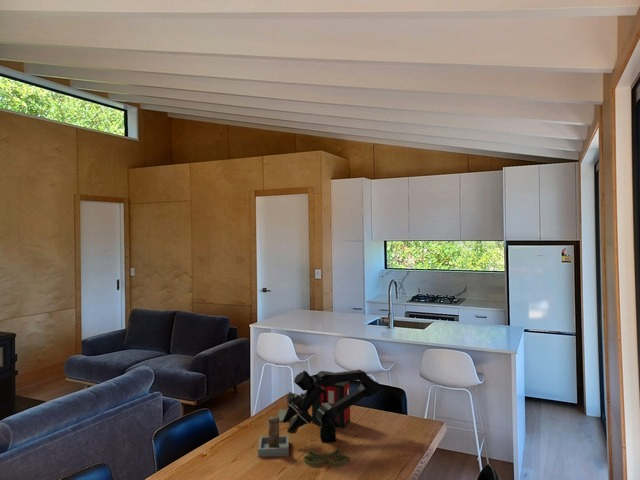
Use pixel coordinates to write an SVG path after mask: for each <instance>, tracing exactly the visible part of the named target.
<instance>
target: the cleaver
mask: <svg viewBox="0 0 640 480" xmlns="http://www.w3.org/2000/svg"><path fill="white" fill-rule="evenodd" d="M287 410H288V408H287V409H280V410H279V412H278V414H277V415H276V416H278V417H279V423H284V422H283V419H284V417H285V415H286V412H287ZM295 419H296V415H295V416H293V417H292V418H291V419H290V420H288V421H287V422H286V423H288V428H287V430H286V431H287V433H294V432H295V431H296V429H294V430H292V431H290V430H289V428H290V427H291V425H292V424H293V422H294V420H295Z"/></svg>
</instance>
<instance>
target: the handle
mask: <svg viewBox="0 0 640 480" xmlns="http://www.w3.org/2000/svg"><path fill="white" fill-rule="evenodd" d="M268 436H269V448H279V436H280V422H279V417H278V416H277V415H272V416H269V417H268Z"/></svg>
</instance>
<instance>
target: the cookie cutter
mask: <svg viewBox="0 0 640 480" xmlns="http://www.w3.org/2000/svg"><path fill="white" fill-rule="evenodd" d="M341 451H342V450H341V448H340V447H337V448H336V449H335V450H334V451H332V452H330V453H326V454H325V453H324V454H323V453H321V454H320V453H317V452H314V451H312V450H307V455H305V456H303V461H304V463H305V464H306V465H308V466H311V467H319V466H323V465H324V464H326V463H328V465H329V466H332V467H333V468H334V467H341V466H344V465H346V463H348V462H351V459H350V456H348V455H346V454H341ZM333 457H334V460H330V458H333ZM320 459H322V460H320Z"/></svg>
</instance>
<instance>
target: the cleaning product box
mask: <svg viewBox="0 0 640 480" xmlns="http://www.w3.org/2000/svg"><path fill="white" fill-rule="evenodd" d="M313 384H315V385H316V383H315V382H314V383H313ZM319 386H320V387H321V388H325V389H326V395H324V394H322V393H321V394H320V396H319V397H318V398H317V399H316V401H315V400H314V401H315V402H314V404H315V405H314V406H313V405H312V406H311V416H312V421H311V424H314V425H320V426H321V423H320V421H319V420H318V419H317V418H316V412H317V410H318V409H319V408H320V407H319V406H322V405H324V404H325V403H328V404H330V405H332V404H334V403H336V402H337V401H339V400H341V399H342V398H344V397H345V396H347V395H349V394H350V393H351V381H347V382H339V383H336V384H335V385H333V386H330V387H323V386H322V385H319ZM335 421H337V422H338V426H337V428H339V429H345V428H346V427H347V426H348V425H349V424H350V422H351V406H350V407H349V408H347V409H345V410H344V411H342V412H341V413H339V414H338V416H337V417H336V419H335Z"/></svg>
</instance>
